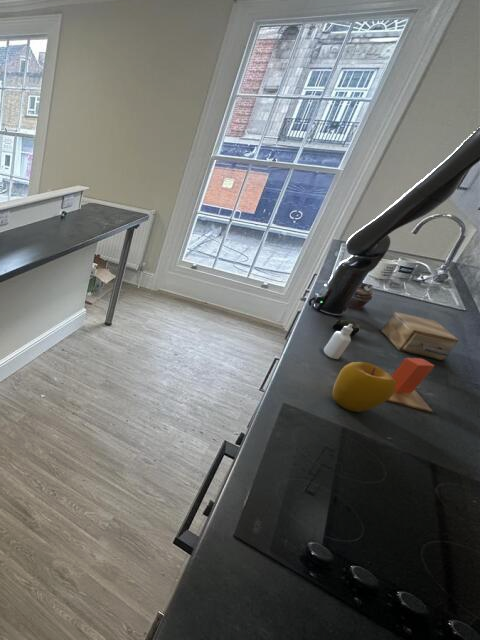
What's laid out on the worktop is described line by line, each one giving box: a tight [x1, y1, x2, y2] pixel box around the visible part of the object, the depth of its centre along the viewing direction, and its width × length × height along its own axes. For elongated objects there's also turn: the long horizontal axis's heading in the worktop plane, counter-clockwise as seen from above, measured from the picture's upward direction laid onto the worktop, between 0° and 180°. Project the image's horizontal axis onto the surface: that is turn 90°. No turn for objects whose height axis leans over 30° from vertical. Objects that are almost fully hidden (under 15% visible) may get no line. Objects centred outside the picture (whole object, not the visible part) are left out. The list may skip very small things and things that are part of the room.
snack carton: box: [390, 357, 436, 393], centre depth 116 cm, size 4×6×10 cm, turn 96°
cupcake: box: [346, 281, 374, 310], centre depth 169 cm, size 10×10×10 cm
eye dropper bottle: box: [323, 324, 353, 360], centre depth 130 cm, size 4×6×12 cm
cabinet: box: [381, 311, 459, 361], centre depth 142 cm, size 15×12×8 cm
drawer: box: [403, 333, 457, 360], centre depth 139 cm, size 18×11×6 cm, turn 156°
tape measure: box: [332, 319, 360, 337], centre depth 147 cm, size 7×7×4 cm
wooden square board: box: [386, 389, 434, 413], centre depth 118 cm, size 12×14×1 cm
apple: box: [332, 361, 396, 413], centre depth 107 cm, size 11×11×13 cm
